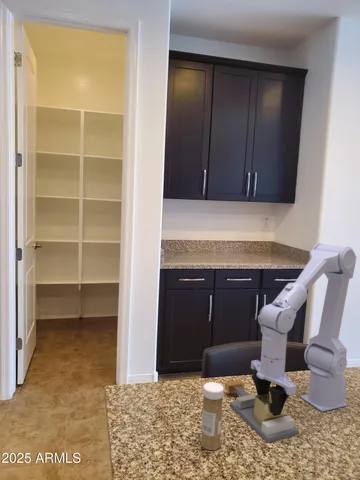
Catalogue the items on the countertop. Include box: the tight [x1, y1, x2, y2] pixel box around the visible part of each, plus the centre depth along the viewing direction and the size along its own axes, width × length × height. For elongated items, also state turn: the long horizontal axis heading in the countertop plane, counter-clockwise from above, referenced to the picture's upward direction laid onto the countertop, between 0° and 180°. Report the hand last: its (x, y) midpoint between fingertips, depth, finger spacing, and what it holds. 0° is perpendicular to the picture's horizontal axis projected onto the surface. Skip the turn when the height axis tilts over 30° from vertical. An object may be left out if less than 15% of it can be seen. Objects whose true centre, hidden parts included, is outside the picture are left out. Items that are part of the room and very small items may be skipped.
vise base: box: [229, 400, 299, 443], centre depth 90 cm, size 9×16×3 cm, turn 24°
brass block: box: [254, 392, 286, 427], centre depth 87 cm, size 6×4×6 cm, turn 114°
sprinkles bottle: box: [200, 381, 225, 451], centre depth 79 cm, size 5×5×14 cm
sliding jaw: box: [224, 379, 257, 409], centre depth 98 cm, size 8×10×2 cm
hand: (269, 408), depth 87 cm, fingers open, 5 cm apart
